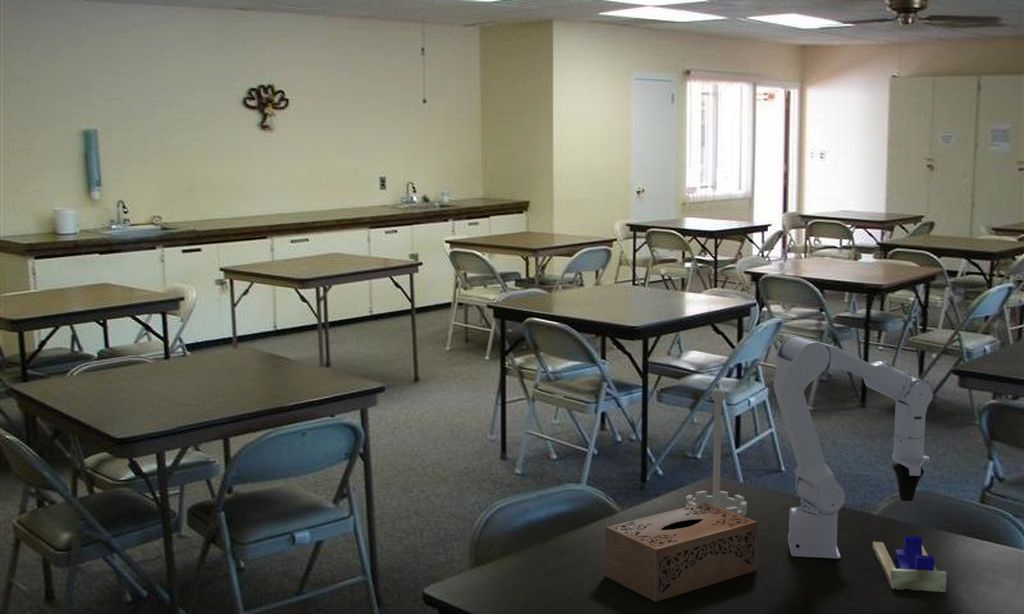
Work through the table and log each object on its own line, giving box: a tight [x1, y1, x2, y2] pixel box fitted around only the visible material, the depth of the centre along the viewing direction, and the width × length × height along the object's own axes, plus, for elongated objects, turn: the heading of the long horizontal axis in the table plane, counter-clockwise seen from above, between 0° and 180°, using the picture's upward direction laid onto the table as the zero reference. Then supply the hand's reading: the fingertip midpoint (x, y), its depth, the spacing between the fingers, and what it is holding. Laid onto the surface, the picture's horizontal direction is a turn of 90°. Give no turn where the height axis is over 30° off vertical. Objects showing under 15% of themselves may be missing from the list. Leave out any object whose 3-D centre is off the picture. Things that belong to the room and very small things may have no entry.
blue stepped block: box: [894, 535, 935, 571], centre depth 198 cm, size 12×4×6 cm, turn 170°
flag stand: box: [685, 388, 748, 517], centre depth 226 cm, size 13×13×30 cm
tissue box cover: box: [604, 502, 759, 603], centre depth 199 cm, size 26×14×10 cm, turn 123°
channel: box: [872, 541, 948, 593], centre depth 201 cm, size 10×21×4 cm, turn 170°
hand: (906, 499), depth 213 cm, fingers closed
